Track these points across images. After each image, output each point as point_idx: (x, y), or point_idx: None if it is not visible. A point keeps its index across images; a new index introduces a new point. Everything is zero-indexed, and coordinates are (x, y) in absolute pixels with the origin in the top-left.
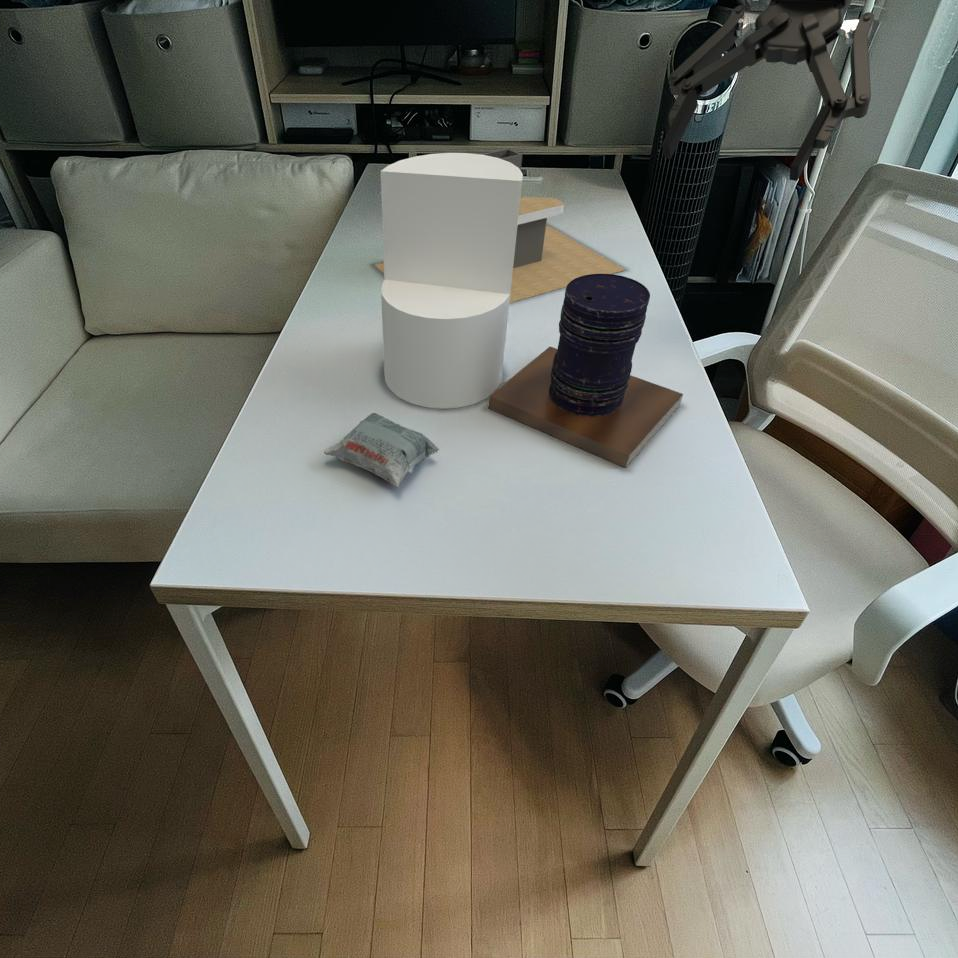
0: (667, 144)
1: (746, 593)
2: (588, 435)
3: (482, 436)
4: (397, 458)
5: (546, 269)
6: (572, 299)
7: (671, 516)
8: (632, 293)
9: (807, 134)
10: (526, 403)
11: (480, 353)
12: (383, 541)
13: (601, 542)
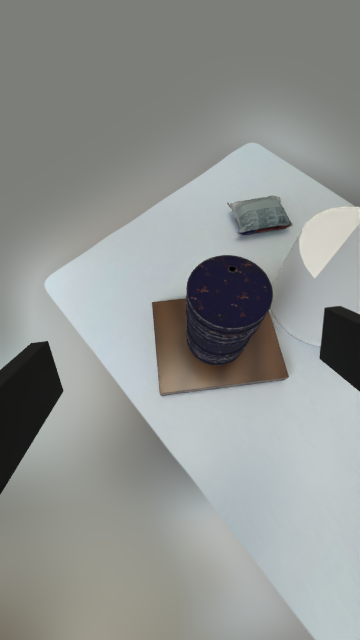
0: (327, 307)
1: (62, 273)
2: (183, 301)
3: None
4: (240, 203)
5: None
6: (243, 261)
7: (112, 292)
8: (210, 305)
9: (2, 383)
10: None
11: (284, 268)
12: (209, 195)
13: (132, 255)
